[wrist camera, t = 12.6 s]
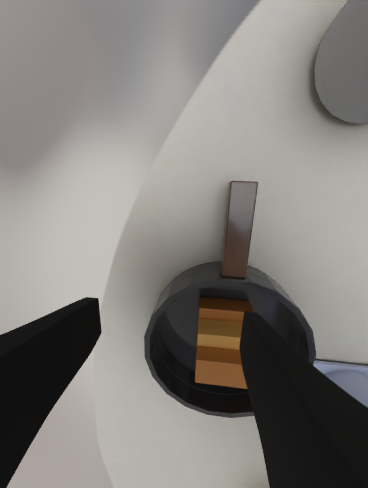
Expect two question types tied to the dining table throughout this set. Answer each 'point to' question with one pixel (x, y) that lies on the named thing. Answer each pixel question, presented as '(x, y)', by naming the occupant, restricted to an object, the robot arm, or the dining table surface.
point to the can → (345, 64)
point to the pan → (185, 334)
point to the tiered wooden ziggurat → (220, 342)
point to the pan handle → (238, 228)
